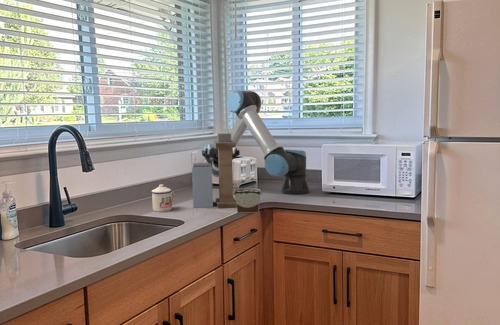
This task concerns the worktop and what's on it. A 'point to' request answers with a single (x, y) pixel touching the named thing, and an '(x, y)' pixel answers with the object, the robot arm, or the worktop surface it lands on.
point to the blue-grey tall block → (202, 185)
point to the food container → (247, 200)
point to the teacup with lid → (162, 199)
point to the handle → (223, 137)
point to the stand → (225, 175)
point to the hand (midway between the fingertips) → (221, 146)
